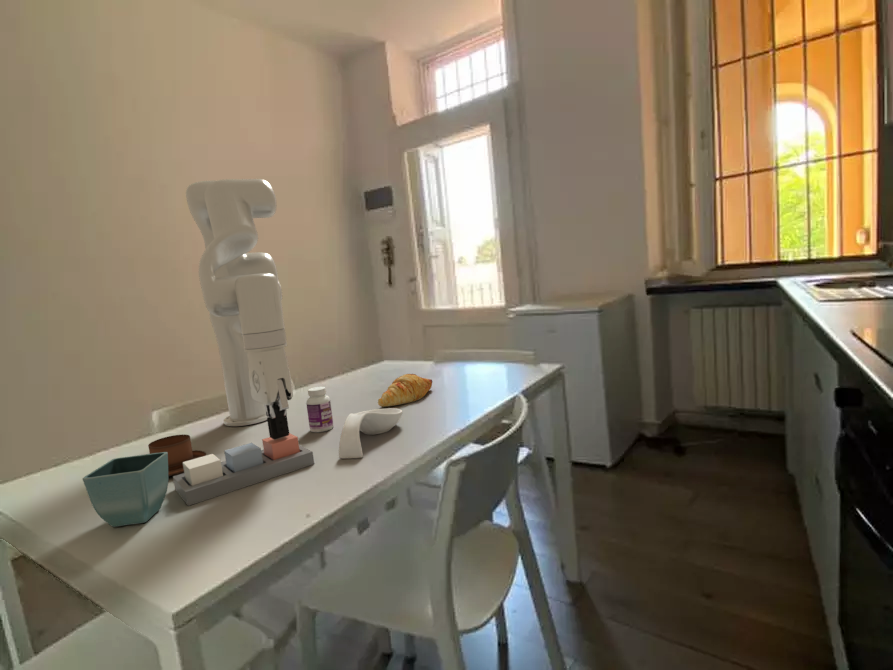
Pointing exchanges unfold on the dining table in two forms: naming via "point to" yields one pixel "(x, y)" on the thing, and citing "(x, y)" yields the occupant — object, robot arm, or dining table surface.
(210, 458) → the key white
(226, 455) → the key blue
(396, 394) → the croissant
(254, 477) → the grey flat tray
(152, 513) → the flower pot
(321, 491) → the dining table surface
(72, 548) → the dining table surface
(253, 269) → the robot arm
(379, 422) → the spoon rest
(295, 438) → the key red
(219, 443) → the dining table surface
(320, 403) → the pill bottle
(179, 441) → the cup and saucer
